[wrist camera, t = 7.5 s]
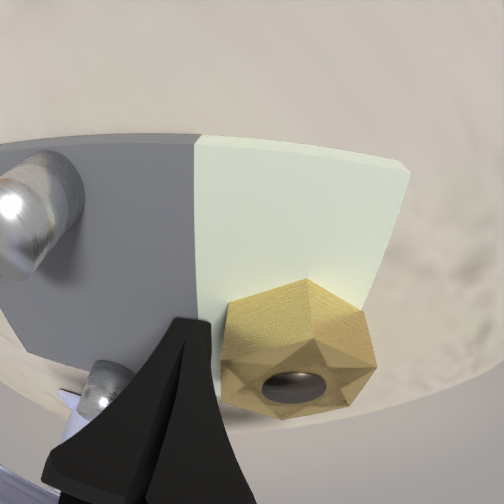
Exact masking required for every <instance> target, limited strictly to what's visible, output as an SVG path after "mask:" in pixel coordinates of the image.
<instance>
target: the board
mask: <svg viewBox="0 0 504 504" xmlns="http://www.w3.org/2000/svg"><path fill="white" fill-rule="evenodd" d="M41 150H52V151H56V152H58V153H60V154H62V155H63V156H65V157H66V158H67V159H68V160H69V161H70V162H71V163H72V164H73V165H74V166H75V168H76V169H77V171H78V173H79V174H80V177H81V179H82V182H83V185H84V189H85V205H84V209H83V212H82V214H81V215H80V217H79V218H78V219H77V220H76V221H75V222H74V223H73V225H72V226H71V227H70V228H69V229H68V230H67V231H66V233H65V234H64V235H63V236H62V237H61V238H60V240H59V241H58V242H57V243H56V244H55V246H54V247H53V248H52V249H51V250H50V252H49V253H48V254H47V255H46V257H45V258H44V259H43V260H42V262H41V263H40V264H39V265H38V267H37V268H36V269H35V271H34V272H33V273H32V275H31V276H30V277H29V278H28V279H26V280H23V281H15V280H11V279H8V278H6V277H4V276H2V275H1V274H0V308H1V310H2V312H3V314H4V315H5V317H6V319H7V320H8V322H9V324H10V325H11V327H12V329H13V330H14V332H15V334H16V335H17V337H18V338H19V340H20V341H21V343H22V344H23V346H24V347H25V349H26V350H27V352H29V353H31V354H34V355H37V356H40V357H43V358H46V359H49V360H52V361H55V362H58V363H62V364H65V365H68V366H71V367H75V368H78V369H82V370H86V371H89V372H90V371H91V369H92V366H93V364H94V362H95V361H97V360H109V361H113V362H116V363H118V364H121V365H123V366H125V367H126V368H128V369H130V370H131V371H132V372H134V373H135V374H137V373H138V371H139V370H140V369H141V368H142V366H143V365H144V364H145V362H146V361H147V360H148V358H149V357H150V355H151V354H152V352H153V351H154V350H155V348H156V347H157V345H158V344H159V342H160V341H161V339H162V338H163V336H164V334H165V333H166V331H167V330H168V328H169V326H170V324H171V323H172V321H173V319H174V318H184V319H191V320H199V321H208V322H209V323H211V332H212V357H211V371H212V378H213V384H214V389H215V394H216V396H221V354H222V347H223V340H224V333H225V326H226V319H227V312H228V306H229V302H232V301H235V300H238V299H242V298H245V297H248V296H251V295H255V294H258V293H261V292H264V291H268V290H271V289H274V288H277V287H280V286H283V285H287V284H290V283H293V282H296V281H299V280H302V279H305V278H308V279H309V280H311V281H313V282H314V283H316V284H318V285H319V286H321V287H323V288H324V289H326V290H328V291H329V292H331V293H333V294H334V295H336V296H338V297H339V298H341V299H343V300H344V301H346V302H348V303H349V304H351V305H353V306H354V307H356V308H358V309H359V310H361V309H362V307H363V304H364V302H365V300H366V298H367V295H368V293H369V291H370V288H371V286H372V283H373V281H374V279H375V276H376V274H377V271H378V269H379V266H380V264H381V261H382V258H383V256H384V253H385V251H386V248H387V245H388V243H389V240H390V237H391V234H392V232H393V229H394V226H395V223H396V220H397V217H398V214H399V211H400V208H401V205H402V202H403V199H404V196H405V193H406V190H407V186H408V183H409V180H410V176H411V172H410V171H409V170H408V169H407V168H406V167H405V166H404V165H403V164H402V163H401V162H400V161H397V160H392V159H388V158H383V157H378V156H373V155H368V154H363V153H357V152H352V151H346V150H340V149H334V148H328V147H321V146H315V145H308V144H300V143H292V142H284V141H275V140H266V139H256V138H244V137H231V136H216V135H197V134H157V133H141V134H102V135H83V136H69V137H57V138H46V139H37V140H29V141H21V142H13V143H7V144H0V176H2V175H3V174H5V173H6V172H7V171H9V170H10V169H12V168H13V167H15V166H16V165H18V164H19V163H21V162H22V161H24V160H25V159H27V158H28V157H30V156H31V155H33V154H34V153H36V152H38V151H41Z"/></svg>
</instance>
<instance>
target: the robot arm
mask: <svg viewBox="0 0 504 504" xmlns="http://www.w3.org/2000/svg"><path fill="white" fill-rule="evenodd" d="M211 357H212V332H211V323H209V322H208V321H199V320H191V319H184V318H174V319H173V321H172V323H171V324H170V326H169V328H168V330H167V331H166V333H165V334H164V336H163V338H162V339H161V341H160V342H159V344H158V345H157V347H156V348H155V350H154V351H153V352H152V354H151V355H150V357H149V358H148V360H147V361H146V362H145V364H144V365H143V366H142V368H141V369H140V370H139V371H138V373H137V374H136V375H135V376H134V378H133V379H132V380H131V381H130V383H129V384H128V385H127V386H126V387H125V388H124V389H123V391H122V392H121V393H120V394H119V395H118V396H117V397H116V398H115V399H114V400H113V401H112V402H111V403H110V404H109V405H108V406H107V407H106V408H105V409H104V410H103V411H102V412H101V413H100V414H99V415H98V416H96V417H95V418H94V419H93V420H92V421H91V422H89V421H88V420H86V419H84V418H83V417H82V416H81V415H79V414H78V412H77V411H76V408H77V405H78V402H79V400H80V397H81V396H79V395H76V394H73V393H69V392H66V391H64V390H58V392H57V394H58V396H59V397H60V398H61V399H62V400H63V402H64V403H65V404H66V405H67V406H68V407H69V409H70V410H71V414H70V417H69V419H68V422H67V425H66V428H65V431H64V434H63V437H62V440H61V443H60V445H58V446H57V447H56V448H54V449H53V450H51V452H50V454H49V456H48V458H47V460H46V463H45V466H44V470H43V473H42V477H41V481H42V482H43V483H45V484H47V485H48V487H50V488H52V489H54V490H56V491H59V492H61V493H60V494H58V493H56V492H54V491H52V490H50V489H48V488H45V489H43V488H41V487H39V486H37V485H35V484H34V483H32V482H30V481H28V480H26V479H24V478H22V477H20V476H19V475H17V474H15V473H13V472H12V471H10V470H8V469H7V468H5V467H3V466H2V465H1V464H0V504H257V503H256V501H255V498H254V496H253V493H252V491H251V489H250V488H249V485H248V483H247V481H246V479H245V477H244V475H243V473H242V471H241V469H240V466H239V464H238V462H237V460H236V457H235V455H234V452H233V449H232V447H231V444H230V442H229V439H228V437H227V433H226V430H225V427H224V424H223V421H222V417H221V414H220V410H219V406H218V402H217V398H216V394H215V389H214V384H213V378H212V371H211Z"/></svg>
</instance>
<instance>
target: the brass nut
mask: <svg viewBox="0 0 504 504" xmlns="http://www.w3.org/2000/svg"><path fill="white" fill-rule="evenodd" d="M376 368H377V364H376V360H375V355H374V351H373V347H372V343H371V339H370V335H369V331H368V327H367V323H366V319H365V315H364V312H363V311H361V310H359V309H358V308H356V307H354V306H353V305H351V304H349V303H348V302H346V301H344V300H343V299H341V298H339V297H338V296H336V295H334V294H333V293H331V292H329V291H328V290H326V289H324V288H323V287H321V286H319V285H318V284H316V283H314V282H313V281H311V280H309V279H308V278H305V279H302V280H299V281H296V282H293V283H290V284H287V285H283V286H280V287H277V288H274V289H271V290H268V291H264V292H261V293H258V294H255V295H251V296H248V297H245V298H242V299H238V300H235V301H232V302H229V306H228V312H227V319H226V326H225V333H224V340H223V347H222V354H221V401H222V402H225V403H228V404H231V405H234V406H237V407H240V408H243V409H246V410H249V411H252V412H255V413H259V414H262V415H265V416H269V417H272V418H276V419H280V420H284V419H290V418H296V417H302V416H307V415H312V414H317V413H322V412H326V411H331V410H335V409H340V408H344V407H348V406H350V405H351V403H352V402H353V401H354V399H355V398H356V397H357V395H358V394H359V393H360V391H361V390H362V388H363V387H364V386H365V384H366V383H367V381H368V380H369V379H370V377H371V376H372V374H373V373H374V371H375V370H376Z"/></svg>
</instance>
